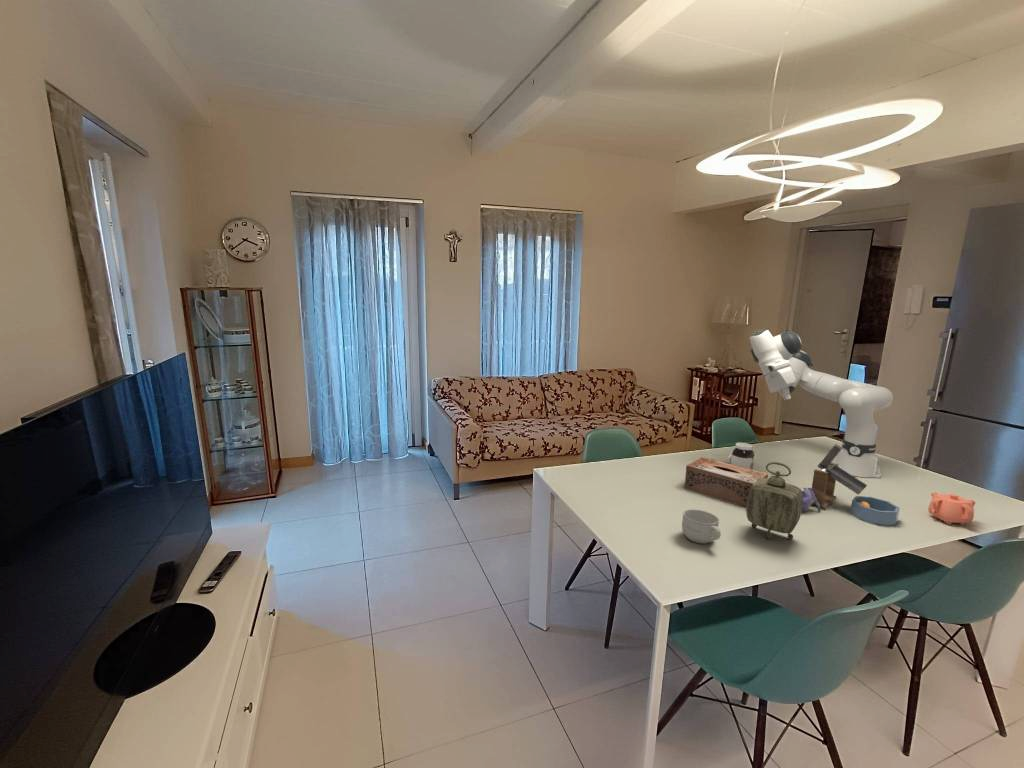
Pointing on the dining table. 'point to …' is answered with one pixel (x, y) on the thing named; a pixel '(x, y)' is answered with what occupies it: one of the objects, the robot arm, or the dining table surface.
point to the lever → (840, 472)
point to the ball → (864, 504)
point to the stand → (823, 488)
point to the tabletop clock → (774, 503)
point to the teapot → (951, 508)
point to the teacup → (700, 526)
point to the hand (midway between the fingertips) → (787, 399)
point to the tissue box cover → (721, 480)
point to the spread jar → (742, 456)
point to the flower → (809, 499)
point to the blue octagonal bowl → (875, 511)
